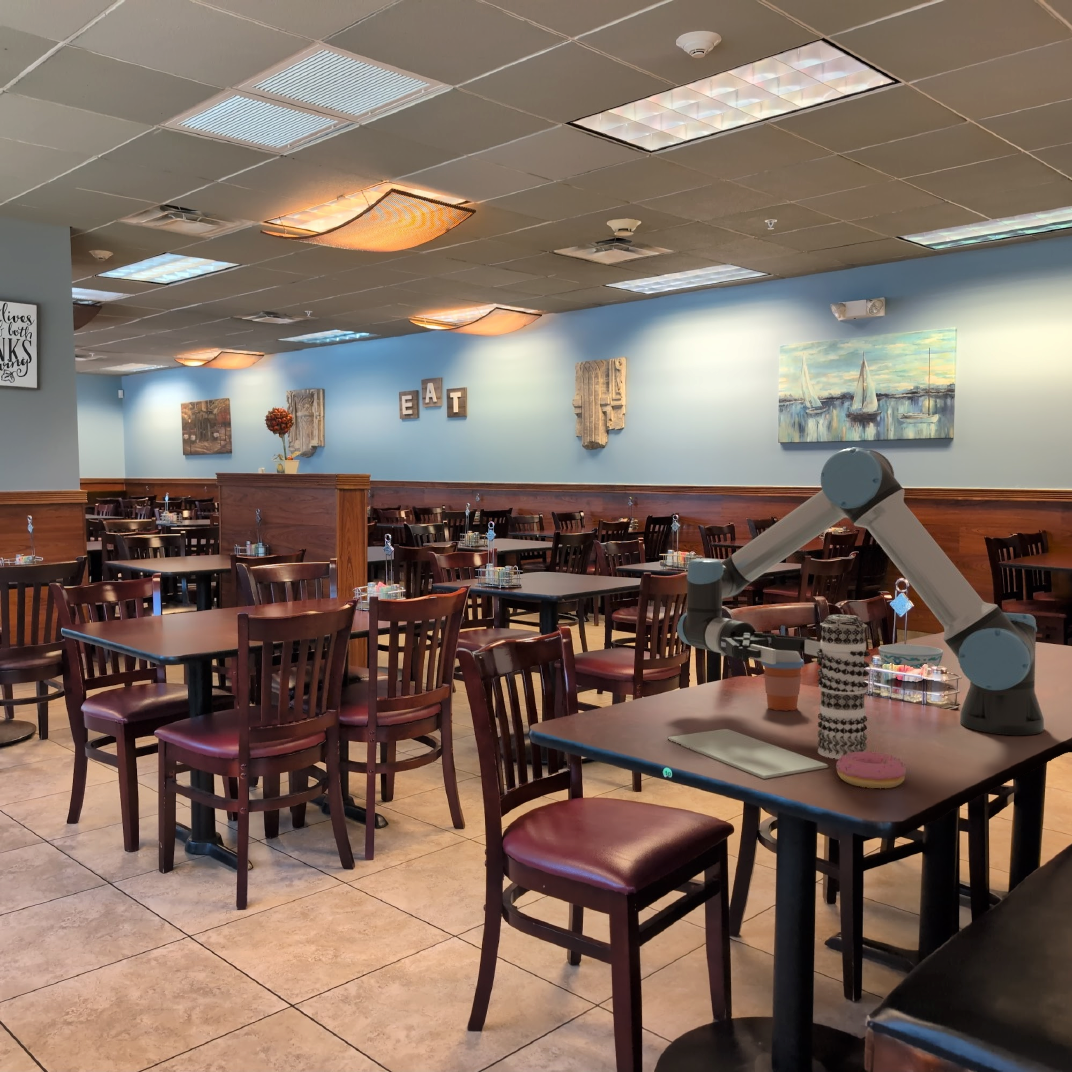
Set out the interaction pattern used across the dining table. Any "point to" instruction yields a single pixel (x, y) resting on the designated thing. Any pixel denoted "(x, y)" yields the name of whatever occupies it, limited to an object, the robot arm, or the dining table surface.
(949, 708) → the dining table surface
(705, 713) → the dining table surface
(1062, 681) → the dining table surface
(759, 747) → the sage rubber mat
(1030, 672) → the robot arm
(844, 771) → the doughnut
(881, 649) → the chinaware
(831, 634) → the decorative candle
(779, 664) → the cup with straw
